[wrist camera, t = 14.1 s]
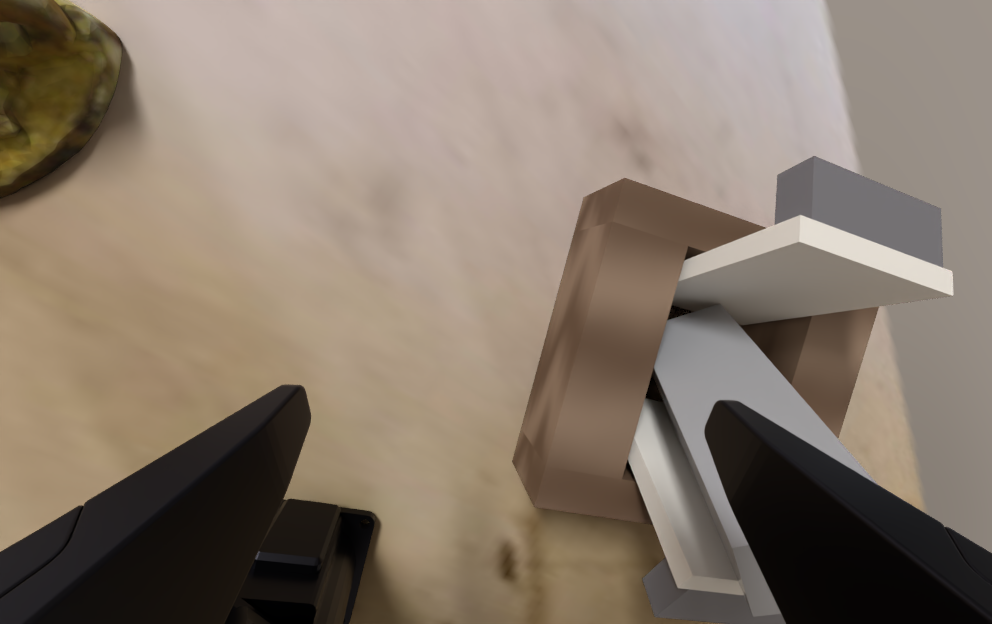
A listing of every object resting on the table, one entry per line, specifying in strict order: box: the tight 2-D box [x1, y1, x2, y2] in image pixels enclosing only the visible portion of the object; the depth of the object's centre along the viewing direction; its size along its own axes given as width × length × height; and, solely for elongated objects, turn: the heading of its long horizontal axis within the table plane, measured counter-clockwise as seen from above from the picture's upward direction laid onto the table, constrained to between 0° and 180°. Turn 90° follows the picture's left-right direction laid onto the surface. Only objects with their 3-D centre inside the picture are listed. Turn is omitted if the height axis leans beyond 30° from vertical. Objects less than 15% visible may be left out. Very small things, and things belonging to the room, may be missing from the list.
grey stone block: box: [652, 304, 878, 617], centre depth 17 cm, size 4×4×12 cm
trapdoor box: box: [512, 178, 879, 525], centre depth 22 cm, size 16×16×4 cm
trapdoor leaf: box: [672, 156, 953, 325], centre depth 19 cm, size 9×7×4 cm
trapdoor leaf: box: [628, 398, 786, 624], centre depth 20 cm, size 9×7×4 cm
